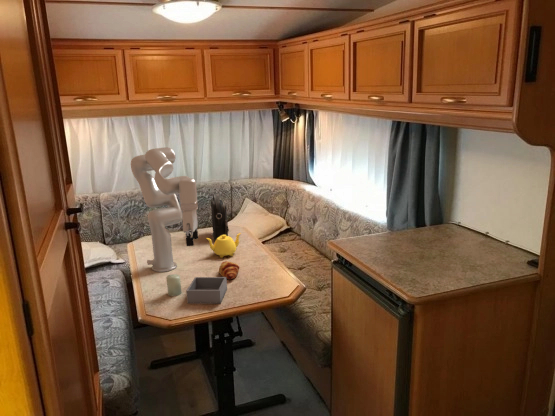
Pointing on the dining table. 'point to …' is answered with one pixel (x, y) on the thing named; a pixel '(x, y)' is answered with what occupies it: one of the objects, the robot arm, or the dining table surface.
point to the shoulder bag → (218, 217)
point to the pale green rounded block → (174, 285)
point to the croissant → (228, 269)
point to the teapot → (224, 245)
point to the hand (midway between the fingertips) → (192, 242)
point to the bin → (207, 290)
